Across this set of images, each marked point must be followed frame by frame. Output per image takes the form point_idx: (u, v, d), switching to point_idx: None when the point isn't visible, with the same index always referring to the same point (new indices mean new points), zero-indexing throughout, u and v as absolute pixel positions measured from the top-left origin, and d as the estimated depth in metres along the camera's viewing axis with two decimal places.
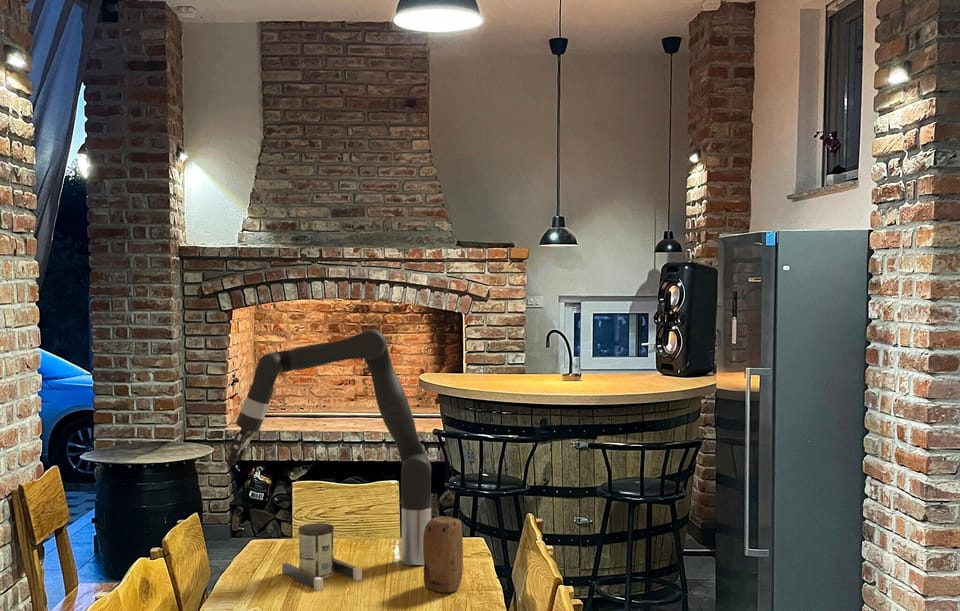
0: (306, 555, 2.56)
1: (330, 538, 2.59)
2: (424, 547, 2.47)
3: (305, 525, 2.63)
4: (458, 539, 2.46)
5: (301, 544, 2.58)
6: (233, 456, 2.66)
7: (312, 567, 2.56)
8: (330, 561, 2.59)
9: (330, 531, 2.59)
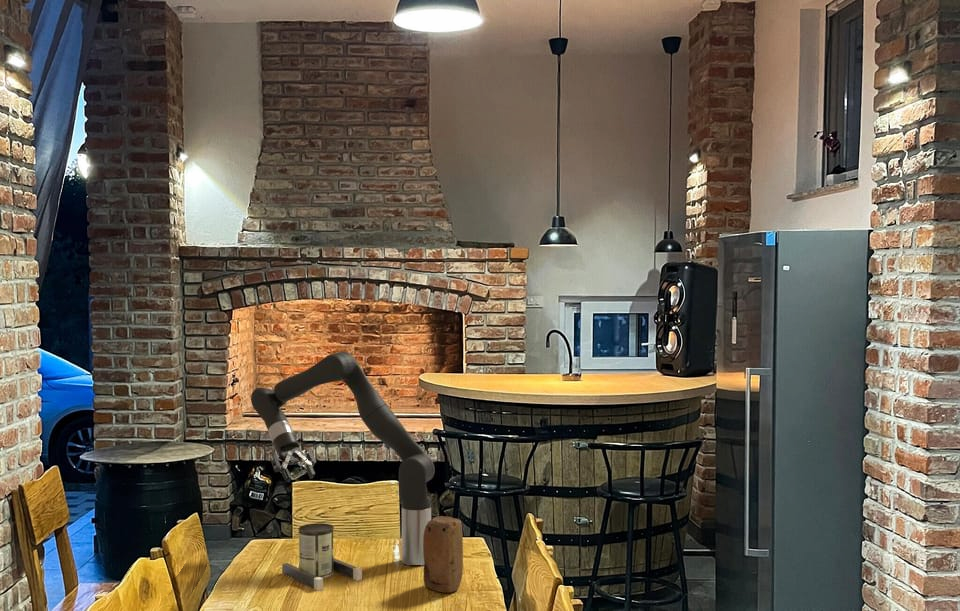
0: (306, 555, 2.56)
1: (330, 538, 2.59)
2: (424, 547, 2.47)
3: (305, 525, 2.63)
4: (458, 539, 2.46)
5: (301, 544, 2.58)
6: (283, 472, 2.76)
7: (312, 567, 2.56)
8: (330, 561, 2.59)
9: (330, 531, 2.59)
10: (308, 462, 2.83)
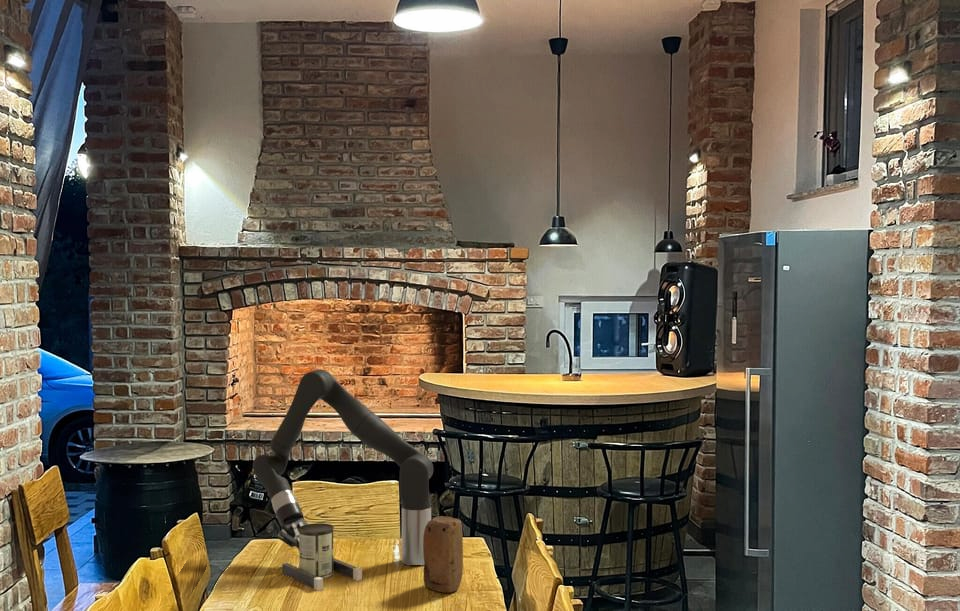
0: (306, 555, 2.56)
1: (330, 538, 2.59)
2: (424, 547, 2.47)
3: (305, 525, 2.63)
4: (458, 539, 2.46)
5: (301, 544, 2.58)
6: None
7: (312, 567, 2.56)
8: (330, 561, 2.59)
9: (330, 531, 2.59)
10: None
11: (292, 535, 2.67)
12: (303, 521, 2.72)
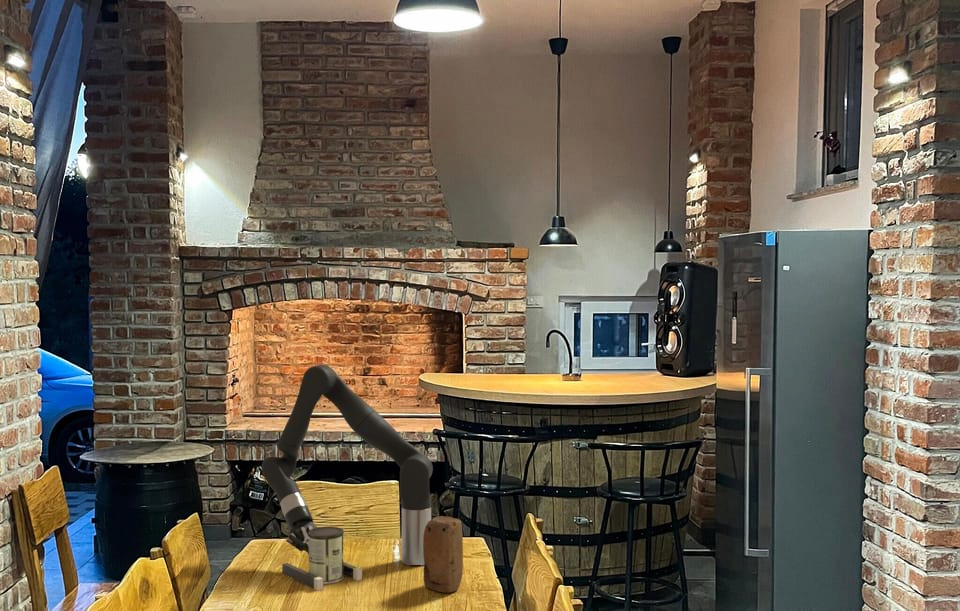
0: (316, 560, 2.52)
1: (340, 542, 2.55)
2: (424, 547, 2.47)
3: (314, 529, 2.59)
4: (458, 539, 2.46)
5: (311, 548, 2.53)
6: None
7: (322, 572, 2.52)
8: (340, 565, 2.55)
9: (340, 535, 2.55)
10: None
11: (301, 539, 2.63)
12: (312, 525, 2.68)
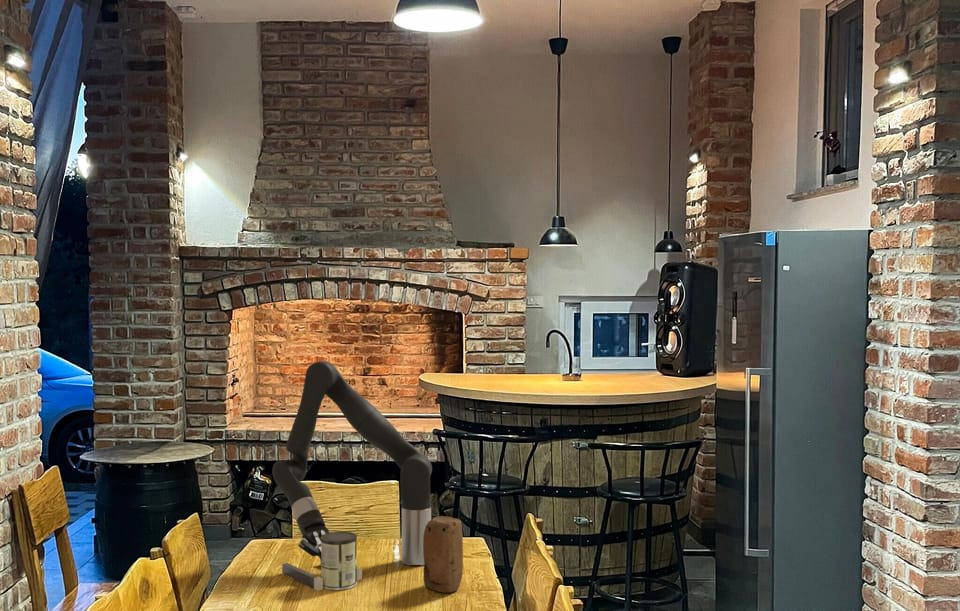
0: (329, 565, 2.47)
1: (354, 547, 2.49)
2: (424, 547, 2.47)
3: (327, 533, 2.54)
4: (458, 539, 2.46)
5: (324, 553, 2.48)
6: None
7: (335, 578, 2.46)
8: (354, 571, 2.49)
9: (354, 540, 2.49)
10: None
11: (313, 544, 2.58)
12: (325, 529, 2.63)
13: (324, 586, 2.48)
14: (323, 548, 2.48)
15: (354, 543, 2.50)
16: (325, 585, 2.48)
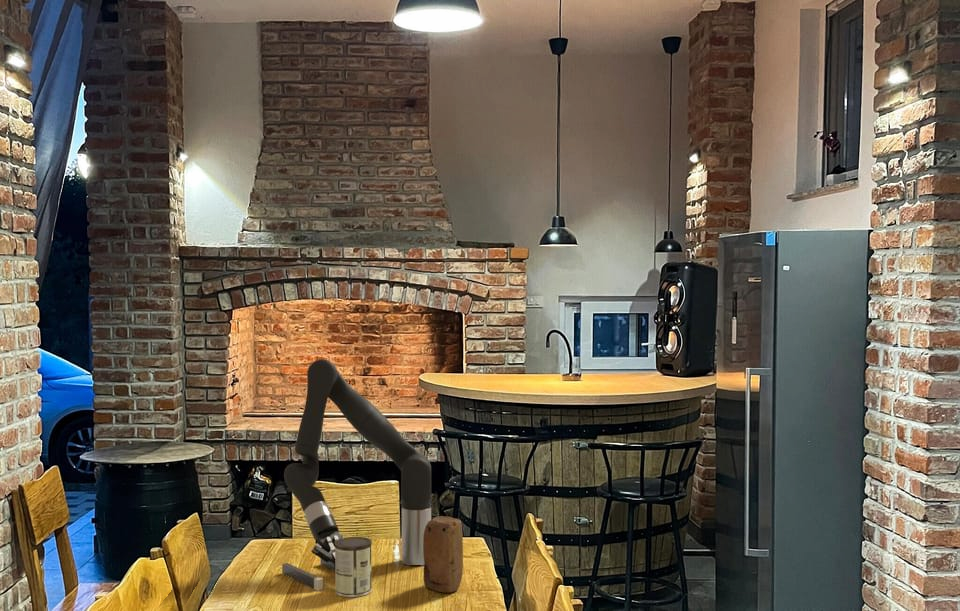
0: (343, 572, 2.41)
1: (368, 553, 2.44)
2: (424, 547, 2.47)
3: (341, 539, 2.48)
4: (458, 539, 2.46)
5: (338, 559, 2.42)
6: None
7: (349, 584, 2.41)
8: (368, 577, 2.44)
9: (368, 545, 2.44)
10: None
11: (327, 549, 2.52)
12: (338, 534, 2.57)
13: (338, 593, 2.42)
14: (337, 554, 2.43)
15: (369, 549, 2.44)
16: (339, 592, 2.42)
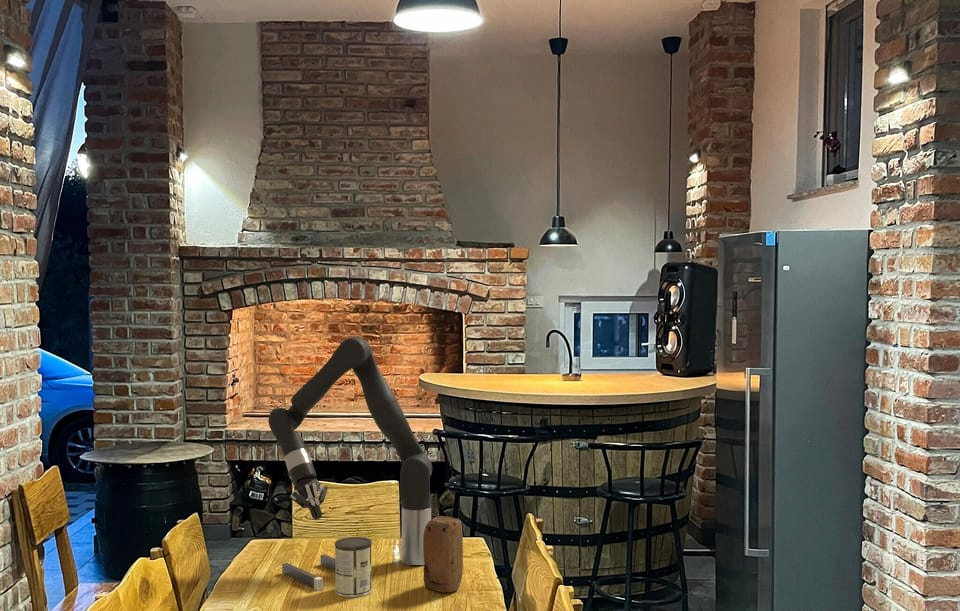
0: (343, 572, 2.41)
1: (368, 553, 2.44)
2: (424, 547, 2.47)
3: (341, 539, 2.48)
4: (458, 539, 2.46)
5: (338, 560, 2.42)
6: (311, 510, 2.64)
7: (350, 584, 2.41)
8: (368, 577, 2.44)
9: (368, 546, 2.44)
10: (317, 501, 2.65)
11: (305, 496, 2.65)
12: (316, 482, 2.69)
13: (338, 593, 2.42)
14: (337, 554, 2.43)
15: (369, 549, 2.44)
16: (339, 592, 2.42)
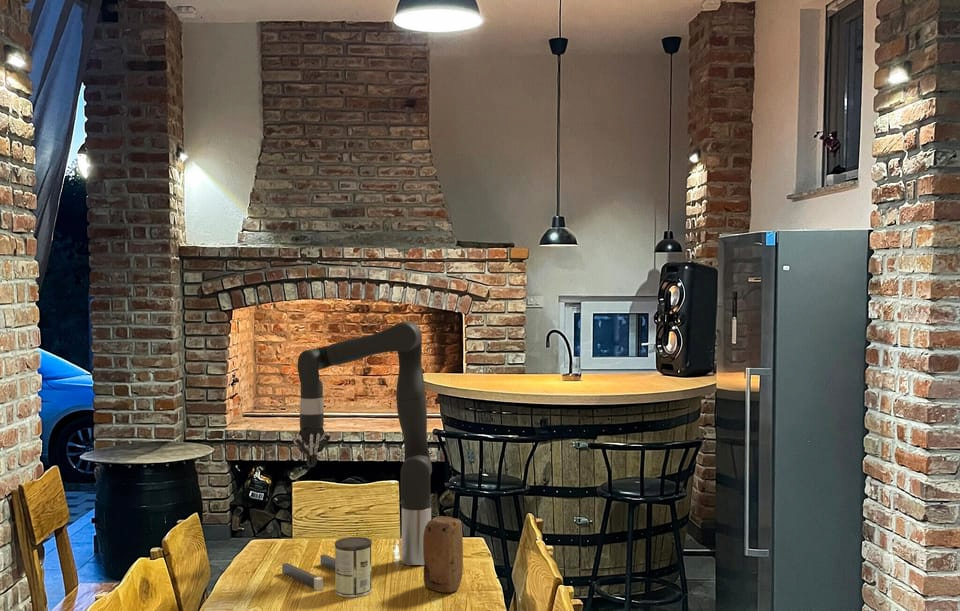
0: (343, 572, 2.41)
1: (368, 553, 2.44)
2: (424, 547, 2.47)
3: (341, 539, 2.48)
4: (458, 539, 2.46)
5: (338, 560, 2.42)
6: (308, 457, 2.77)
7: (350, 584, 2.41)
8: (368, 577, 2.44)
9: (368, 546, 2.44)
10: (315, 450, 2.78)
11: (306, 443, 2.76)
12: (321, 430, 2.79)
13: (338, 593, 2.42)
14: (337, 554, 2.43)
15: (369, 549, 2.44)
16: (339, 592, 2.42)
